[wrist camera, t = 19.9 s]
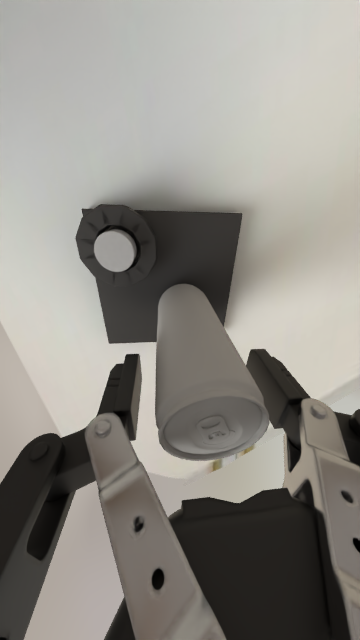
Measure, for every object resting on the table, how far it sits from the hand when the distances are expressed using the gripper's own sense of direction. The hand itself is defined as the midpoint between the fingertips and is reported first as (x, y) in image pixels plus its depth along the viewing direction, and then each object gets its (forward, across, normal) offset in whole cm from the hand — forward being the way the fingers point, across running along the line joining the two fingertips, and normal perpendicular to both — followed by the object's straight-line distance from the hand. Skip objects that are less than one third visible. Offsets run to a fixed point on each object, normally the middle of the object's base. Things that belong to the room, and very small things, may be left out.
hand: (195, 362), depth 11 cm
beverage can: (+8, 0, 0) cm, 8 cm away
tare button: (+6, +5, -5) cm, 10 cm away
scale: (+9, +2, -2) cm, 9 cm away
